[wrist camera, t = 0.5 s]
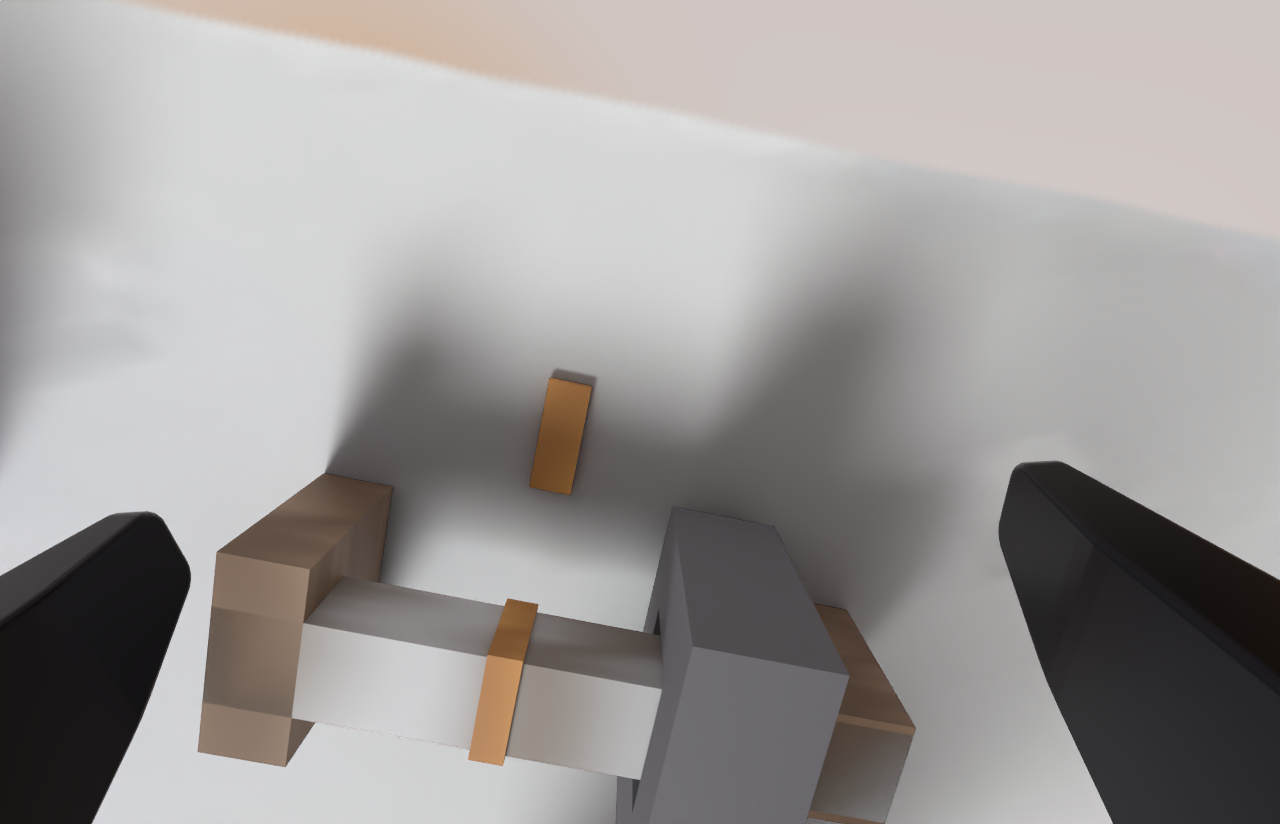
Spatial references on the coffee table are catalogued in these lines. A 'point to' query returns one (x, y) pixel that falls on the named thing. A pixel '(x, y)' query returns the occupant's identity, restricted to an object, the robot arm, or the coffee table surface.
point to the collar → (734, 681)
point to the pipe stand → (471, 653)
